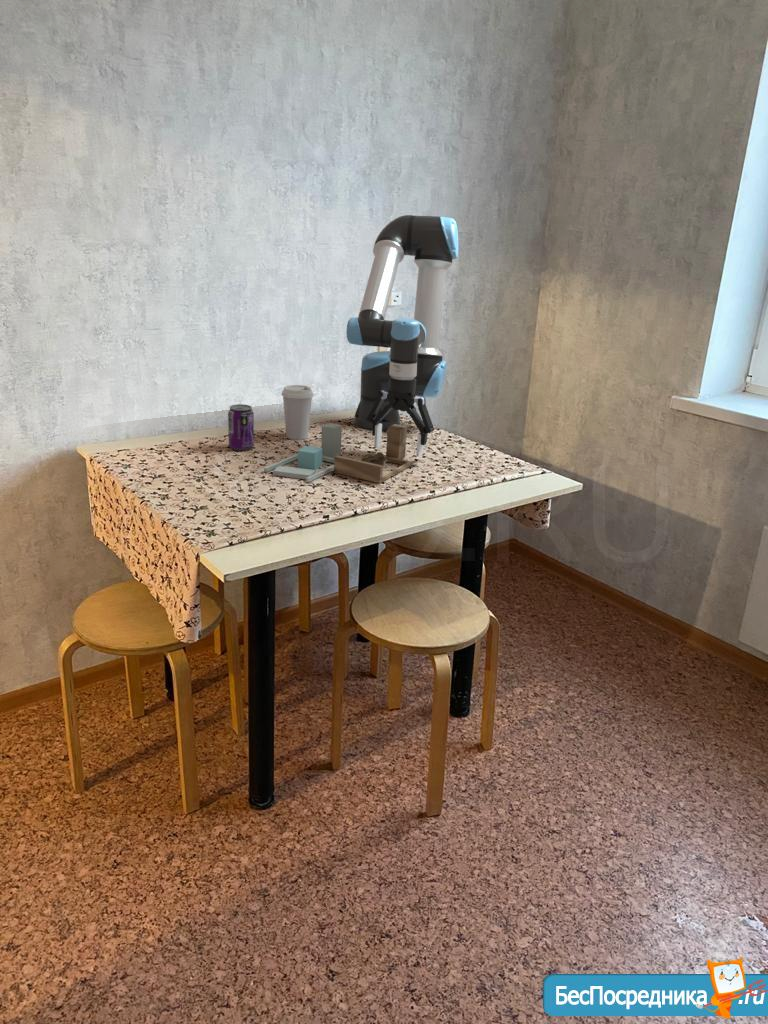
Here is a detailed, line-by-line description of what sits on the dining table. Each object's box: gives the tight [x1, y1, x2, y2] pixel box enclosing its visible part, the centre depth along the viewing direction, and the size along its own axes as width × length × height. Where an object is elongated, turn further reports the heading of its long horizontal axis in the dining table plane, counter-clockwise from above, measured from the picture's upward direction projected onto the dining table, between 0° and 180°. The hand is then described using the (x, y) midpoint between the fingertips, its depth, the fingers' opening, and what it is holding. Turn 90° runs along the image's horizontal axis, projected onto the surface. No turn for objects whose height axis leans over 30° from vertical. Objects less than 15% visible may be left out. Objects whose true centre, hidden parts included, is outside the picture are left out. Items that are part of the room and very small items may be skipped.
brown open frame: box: [333, 424, 413, 484], centre depth 209 cm, size 24×14×9 cm, turn 151°
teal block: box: [297, 445, 323, 471], centre depth 208 cm, size 5×5×5 cm
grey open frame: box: [263, 422, 343, 483], centre depth 207 cm, size 24×14×9 cm, turn 151°
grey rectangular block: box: [272, 465, 316, 480], centre depth 202 cm, size 4×10×1 cm, turn 76°
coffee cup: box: [281, 384, 315, 441], centre depth 231 cm, size 10×10×15 cm
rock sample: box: [360, 451, 389, 467], centre depth 207 cm, size 10×8×9 cm
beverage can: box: [227, 403, 255, 451], centre depth 219 cm, size 7×7×12 cm
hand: (398, 451), depth 220 cm, fingers open, 13 cm apart
